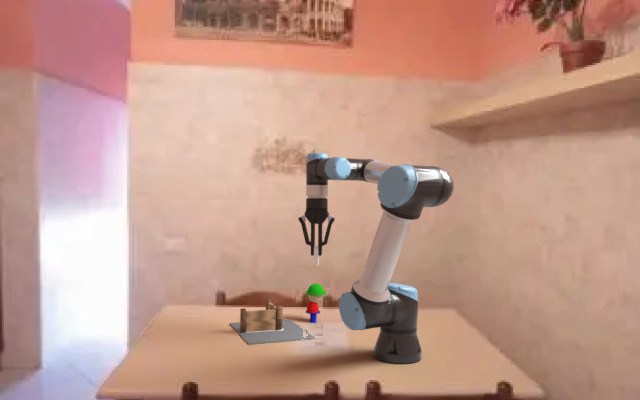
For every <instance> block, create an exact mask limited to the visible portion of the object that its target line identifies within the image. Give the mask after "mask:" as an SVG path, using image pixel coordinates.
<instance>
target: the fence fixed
mask: <svg viewBox="0 0 640 400" xmlns="http://www.w3.org/2000/svg"><path fill="white" fill-rule="evenodd" d="M274 309H275V310H276V323H275V327H276V328H275V329H276V330H282V319H283V311H284V309H283V305H275V304H274V303H273V302H272V299H271V298H266V299H265V310H274Z"/></svg>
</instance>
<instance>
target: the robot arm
mask: <svg viewBox="0 0 640 400" xmlns="http://www.w3.org/2000/svg"><path fill="white" fill-rule="evenodd" d="M305 166H306V167H305V169H306V171H305V174H306V176H305V177H306V180H305V181H306V182H305V183H306V185H305V187H306V188H305V195H306V197H307V198H306V199H305V212H304V214H303V215H302V216H298V222H299V223H300V224H301V229H302V233H303V238H304V242H305V244H306V245H308V246H310V256H313V266H319V263H320V260H319V259H320V256H322V254H323V246H325V245H328V241H329V238H330V232H331V230H332V226H333V223H334V222H335V220H336V218H335V217H333V216H331V215H330V213H329V210H328V207H329V206H328V203H329V202H328V198H327V197H328V196H329V195H328V192H329V191H328V190H329V188H328V187H329V181H358V182H360V181H361V182H366V183H371V184H375V185H377V187H376V189H377V191H378V192H377V198H378V200H379V202H380V204H379V205H380V208H381V210H382V214H381V217H380V221H379V223H378V225H377V226H378V227H377V229H376V232H375V235H374V238H373V241H372V244H371V247H370V250H369V252H368V256H367V259H366V261H365V265H364V267H363V270H362V273H361V275H360V278H358V279H355V280H354V282H353V283H352V287H351V289H350V291H345V292H343V293H341V295H340V297H339V299H338V310H339V315H340V318H341V321H342V322H343V324H344V325H345V326H346V328H348V329H349V330H351V331H364V330H371V329H376V328H378V329H379V332H378V333H379V334H378V337H377V339H376V342H375V345H374V348H373V355H374V358H376V359H378V360H380V361H381V362H382V361H383V362H387V363H393V364H414V363H417V362H420V361H421V360H422V358H423V357H422V355H423V354H422V353H423V352H422V348H421V344H420V341H419V340H420V339H419V337H418V336H419V335H418V331H417V330H418V312H419V295H418V294H419V292H418V290H417V288H415V287H414V286H410V285H407V284H402V283H401V284H400V283H394V282H391V280H392V277H393V274H394V272H395V270H396V267H397V264H398V261H399V258H400V255H401V253H402V250H403V247H404V245H405V242H406V239H407V237H408V234H409V232H410V230H411V225H412V223H413V222H415V221H418V220H419V219H420V217H421V215H422V212H423V209H424V208H435V207H440V206H441V205H444V204H445V203H446V202H448V201H449V200H450V198H451V197H452V195H453V192H454V184H455V183H454V181H453V177H452V176H451V174H450V173H449V172H448V170H446V169H444V168H442V167H439V166H433V165H432V166H431V165H429V166H428V165H412V164H406V163H405V164H393V163H388V162H381V161H378V160H377V159H373V158H372V159H370V158H349V157H346V158H345V157H343V156H333V157H329V156H328V153H325V152H311V153H308V154H307V155H306V163H305ZM326 220H327V222H328V223H327V227H326V231H325V235H324V237H323V224H324V223H325V221H326ZM306 221H308V223H309V224H310V237H309V232H308V228H307V224H306ZM316 225H317V227H318V228H317V231H318V232H317V235H318V237H317V240H318V241H317V243H318V244H317V245H316V238H315V237H316ZM323 238H324V239H323Z"/></svg>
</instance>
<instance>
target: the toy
mask: <svg viewBox="0 0 640 400" xmlns="http://www.w3.org/2000/svg"><path fill="white" fill-rule="evenodd" d="M305 294H306V295H307V299H308V300H309V302H308V303H307V308H306V311H305V313H306V314H309V323H311V324H316V323H317V315H319V314H321V311H320V309H319V304H318V303H319V302H321V300H322V299H323V296H324V295H327V291H325V290H324V287H323V285H321V284H320V283H312V284H310V285H309V286H308V288H307V290H305Z"/></svg>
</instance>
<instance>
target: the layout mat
mask: <svg viewBox="0 0 640 400" xmlns="http://www.w3.org/2000/svg"><path fill="white" fill-rule="evenodd" d="M229 325H230V327H232V328H233V329H234V330H235V332H237V333H238V334H239V336H240V337H241V338H242V339H243V340H244V341H245V342H246V344H247V345H249V346H250V345H261V344H271V343H272V344H273V343H274V344H275V343H282V342H283V343H284V342H296V340H298V341H302V340H301V339H310V340H312V339H311V338H315V339H316V337H315V336H313V335H312V334H311V333H310V332H308V331H307V332H306V334H307V333H308V336H306V338H304V337H302V336H303V329H304V328H303V327H301V326H300V325H298V324H297V323H296V322H295V321H293V320H292V319H290V318H284V319H283V318H282V330H276V329H271V330H258V331H245V332H240V321H239V322H230V323H229ZM300 327H301V328H300ZM275 328H276V327H275ZM302 328H303V329H302Z"/></svg>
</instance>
